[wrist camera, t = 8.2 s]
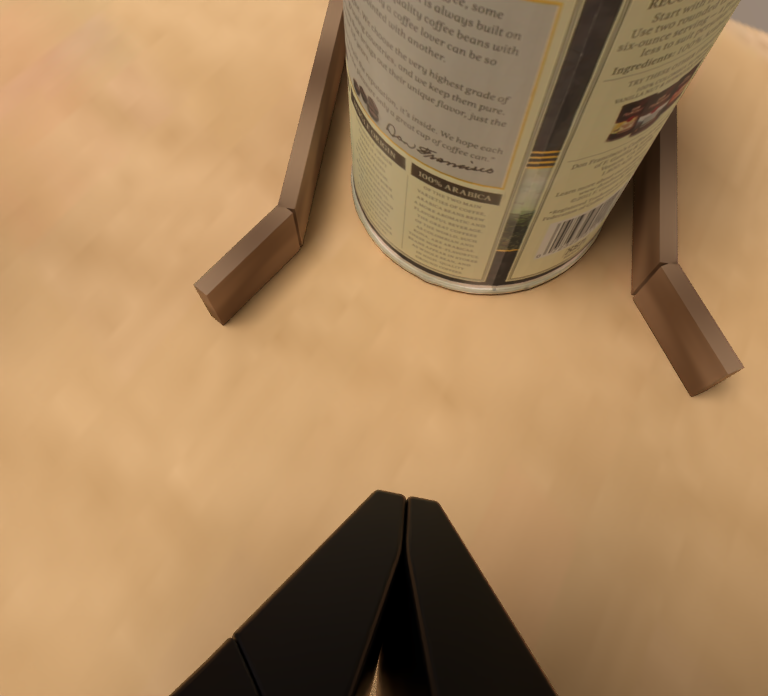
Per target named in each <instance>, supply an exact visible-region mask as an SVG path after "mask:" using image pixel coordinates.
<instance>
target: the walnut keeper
mask: <svg viewBox="0 0 768 696" xmlns="http://www.w3.org/2000/svg"><path fill="white" fill-rule="evenodd" d="M345 58H346V46H345V29H344V13H343V0H329V4H328V8H327V12H326V16H325V20H324V24H323V28H322V32H321V36H320V40H319V44H318V48H317V52H316V56H315V60H314V64H313V68H312V72H311V76H310V80H309V84H308V88H307V92H306V96H305V100H304V104H303V108H302V112H301V116H300V120H299V123H298V127H297V131H296V135H295V139H294V143H293V147H292V151H291V155H290V159H289V163H288V167H287V171H286V175H285V179H284V183H283V187H282V191H281V195H280V199H279V203H278V205H277V206H276V207H275V208H274V209H273V210H272V211H271V212H270V213H269V214H268V215H267V216H265V217H264V218H263V219H262V220H261V221H260V222H259V223H258V224H257V225H256V226H255V227H254V228H253V229H252V230H251V231H250V232H249V233H248V234H246V235H245V236H244V237H243V238H242V239H241V240H240V241H239V242H238V243H237V244H236V245H235V246H234V247H233V248H232V249H231V250H230V251H228V252H227V253H226V254H225V255H224V256H223V257H222V258H221V259H220V260H219V261H218V262H217V263H216V264H215V265H214V266H213V267H212V268H211V269H209V270H208V271H207V272H206V273H205V274H204V275H203V276H202V277H201V278H200V279H199V280H198V281H197V282H196V283H195V284H194V287H195V288H196V290H197V292H198V293H199V295H200V297H201V299H202V300H203V302H204V304H205V305H206V307H207V309H208V311H209V312H210V314H211V316H212V317H214V318H215V319H216V320H217V321H218V322H220V323H221V324H222V325H224V324H225V323H226V322H227V321H228V320H229V319H230V318H231V317H232V316H233V315H234V314H235V313H236V312H237V311H238V310H239V309H240V308H241V307H242V306H243V305H244V304H245V303H247V302H248V301H249V300H250V299H251V298H252V297H253V296H254V295H255V294H256V293H257V292H258V291H259V290H260V289H261V288H262V287H263V286H264V285H265V284H266V283H267V282H268V281H269V280H270V279H271V278H272V277H273V276H274V275H275V274H276V273H277V272H278V271H279V270H280V269H281V268H282V267H283V266H284V265H285V264H286V263H287V262H288V261H289V260H290V259H291V258H292V257H293V256H294V255H295V254H296V253H297V252H298V251H299V250H300V246H302V245H303V240H304V236H305V232H306V227H307V223H308V219H309V214H310V210H311V206H312V201H313V197H314V192H315V188H316V184H317V179H318V175H319V171H320V166H321V162H322V158H323V153H324V149H325V145H326V140H327V136H328V132H329V127H330V123H331V118H332V114H333V110H334V105H335V101H336V97H337V92H338V88H339V84H340V79H341V75H342V71H343V66H344V62H345ZM631 294H632V295H635V296H634V297H633V300H634V302H635V303H636V305H637V307H638V308H639V310H640V312H641V314H642V315H643V317H644V319H645V320H646V322H647V324H648V325H649V327H650V329H651V330H652V332H653V334H654V335H655V337H656V339H657V340H658V342H659V344H660V346H661V347H662V349H663V351H664V352H665V354H666V356H667V357H668V359H669V361H670V362H671V364H672V366H673V367H674V369H675V371H676V372H677V374H678V376H679V378H680V379H681V381H682V383H683V384H684V386H685V388H686V389H687V391H688V393H689V394H690V396H691V397H692V396H695V395H697V394H699V393H702V392H704V391H706V390H708V389H710V388H711V387H713V386H715V385H716V384H718V383H720V382H721V381H723V380H725V379H726V378H728V377H730V376H731V375H733V374H735V373H736V372H738V371H740V370H741V369H743V368H744V366H743V365H742V363H741V362H740V360H739V358H738V357H737V355H736V354H735V352H734V350H733V349H732V347H731V346H730V344H729V343H728V341H727V339H726V338H725V336H724V335H723V333H722V332H721V330H720V328H719V327H718V325H717V324H716V322H715V320H714V319H713V317H712V316H711V314H710V313H709V311H708V309H707V308H706V306H705V305H704V303H703V302H702V300H701V298H700V297H699V295H698V294H697V292H696V290H695V289H694V287H693V286H692V284H691V283H690V281H689V279H688V278H687V276H686V275H685V273H684V272H683V270H682V268H681V267H680V265H679V264H678V227H677V104H676V106H675V108H674V109H673V111H672V112H671V114H670V116H669V117H668V119H667V120H666V122H665V124H664V125H663V127H662V128H661V130H660V132H659V133H658V135H657V137H656V138H655V140H654V141H653V143H652V145H651V146H650V148H649V150H648V151H647V153H646V155H645V156H644V158H643V159H642V161H641V163H640V164H639V166H638V168H637V169H636V171H635V172H634V194H633V243H632V291H631Z"/></svg>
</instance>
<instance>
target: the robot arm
mask: <svg viewBox="0 0 768 696" xmlns="http://www.w3.org/2000/svg"><path fill="white" fill-rule="evenodd" d="M378 659H379V662H378ZM377 663H378V672H377V691H376V696H558V695H557V693H556V691H555V690H554V688H553V686H552V685H551V683H550V682H549V680H548V678H547V677H546V675H545V674H544V672H543V670H542V669H541V667H540V665H539V664H538V662H537V661H536V659H535V657H534V656H533V654H532V652H531V651H530V649H529V648H528V646H527V644H526V643H525V641H524V640H523V638H522V636H521V635H520V633H519V631H518V630H517V628H516V627H515V625H514V623H513V622H512V620H511V619H510V617H509V615H508V614H507V612H506V610H505V609H504V607H503V606H502V604H501V602H500V601H499V599H498V598H497V596H496V594H495V593H494V591H493V589H492V588H491V586H490V585H489V583H488V581H487V580H486V578H485V577H484V575H483V573H482V572H481V570H480V568H479V567H478V565H477V564H476V562H475V560H474V559H473V557H472V556H471V554H470V552H469V551H468V549H467V547H466V546H465V544H464V543H463V541H462V539H461V538H460V536H459V534H458V533H457V531H456V530H455V528H454V526H453V525H452V523H451V522H450V520H449V518H448V517H447V515H446V513H445V512H444V510H443V509H442V507H441V505H440V504H439V503H438V502H437V501H433V500H428V499H423V498H418V497H409V498H408V499H407V500H406V498H405V496H403V495H402V494H397V493H392V492H387V491H382V490H376V491H374V492H373V493H372V494H371V495H370V496H369V497H368V498H367V499H366V500H365V501H364V502H363V503H362V504H361V505H360V506H359V507H358V508H357V509H356V510H355V511H354V512H353V513H352V514H351V515H350V516H349V517H348V518H347V519H346V520H345V521H344V522H343V523H342V524H341V525H340V526H339V527H338V528H337V529H336V530H335V531H334V532H333V533H332V534H331V535H330V536H329V537H328V539H327V540H326V541H325V542H324V543H323V544H322V545H321V546H320V547H319V548H318V549H317V550H316V551H315V552H314V553H313V554H312V555H311V556H310V557H309V558H308V559H307V560H306V561H305V562H304V563H303V564H302V565H301V566H300V567H299V568H298V569H297V570H296V571H295V572H294V573H293V574H292V575H291V576H290V577H289V578H288V579H287V580H286V581H285V582H284V583H283V584H282V585H281V586H280V587H279V588H278V589H277V590H276V591H275V592H274V593H273V594H272V595H271V596H270V597H269V598H268V599H267V600H266V601H265V602H264V603H263V604H262V605H261V606H260V607H259V608H258V609H257V610H256V611H255V612H254V613H253V614H252V615H251V616H250V617H249V618H248V619H247V620H246V621H245V622H244V623H243V624H242V625H241V626H240V627H239V628H238V629H237V630H236V631H235V632H234V634H233V636H232V638H228V639H227V640H226V641H225V642H224V643H223V644H222V645H221V646H220V647H219V648H218V649H217V650H216V651H215V652H214V653H213V654H212V655H211V656H210V657H209V658H208V659H207V660H206V661H205V662H204V663H203V664H202V665H201V666H200V667H199V668H198V669H197V670H196V671H195V672H194V673H193V674H192V675H191V676H189V677H188V678H187V679H186V680H185V681H184V682H183V683H182V684H181V685H180V686H179V687H178V688H177V689H176V690H175V691H174V692H173V693H171V694H170V695H169V696H369V695H370V692H371V688H372V684H373V680H374V676H375V672H376V668H377Z"/></svg>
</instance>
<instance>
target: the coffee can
mask: <svg viewBox="0 0 768 696" xmlns="http://www.w3.org/2000/svg"><path fill="white" fill-rule="evenodd" d="M740 1H741V0H343V13H344V29H345V46H346V67H347V80H348V96H349V114H350V132H351V149H352V169H351V186H352V194H353V199H354V204H355V208H356V211H357V213H358V216H359V218H360V220H361V222H362V223H363V225H364V227H365V229H366V231H367V232H368V234H369V235H370V237H371V238H372V240H373V241H374V242H375V243H376V245H377V246H378V247H379V248H380V249H381V250H382V251H383V252H384V253H385V254H386V255H387V256H388V257H389V258H390V259H392V260H393V261H394V262H395V263H396V264H398V265H399V266H401V267H402V268H403V269H405V270H406V271H408V272H410V273H412V274H414V275H416V276H417V277H419V278H421V279H422V280H424V281H426V282H428V283H432V284H436V285H439V286H442V287H445V288H448V289H451V290H456V291H461V292H466V293H474V294H503V293H511V292H516V291H520V290H526V289H530V288H532V287H534V286H537V285H539V284H542V283H544V282H546V281H548V280H551V279H553V278H554V277H556V276H558V275H559V274H561V273H563V272H564V271H566V270H567V269H568V268H570V267H571V266H572V265H573V264H574V263H576V262H577V261H578V260H579V259H580V258H581V257H582V256H583V255H584V254H585V253H586V251H587V250H588V249H589V248H590V247H591V245H592V244H593V242H594V241H595V239H596V238H597V236H598V234H599V232H600V231H601V228H602V226H603V223H604V221H605V219H606V218H607V216H608V214H609V213H610V211H611V210H612V208H613V206H614V205H615V203H616V201H617V200H618V198H619V197H620V195H621V193H622V192H623V190H624V189H625V187H626V185H627V184H628V182H629V181H630V179H631V177H632V176H633V174H634V172H635V171H636V169H637V168H638V166H639V164H640V163H641V161H642V159H643V158H644V156H645V155H646V153H647V151H648V150H649V148H650V146H651V145H652V143H653V141H654V140H655V138H656V137H657V135H658V133H659V132H660V130H661V128H662V127H663V125H664V124H665V122H666V120H667V119H668V117H669V116H670V114H671V112H672V111H673V109H674V108H675V106H676V104H677V103H678V101H679V100H680V98H681V96H682V95H683V93H684V91H685V90H686V88H687V87H688V85H689V83H690V82H691V80H692V79H693V77H694V75H695V74H696V72H697V70H698V69H699V67H700V66H701V64H702V62H703V61H704V59H705V57H706V56H707V54H708V53H709V51H710V49H711V48H712V46H713V44H714V43H715V41H716V40H717V38H718V36H719V35H720V33H721V32H722V30H723V28H724V27H725V25H726V23H727V22H728V20H729V19H730V17H731V15H732V14H733V12H734V10H735V9H736V7H737V6H738V4H739V2H740Z"/></svg>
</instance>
